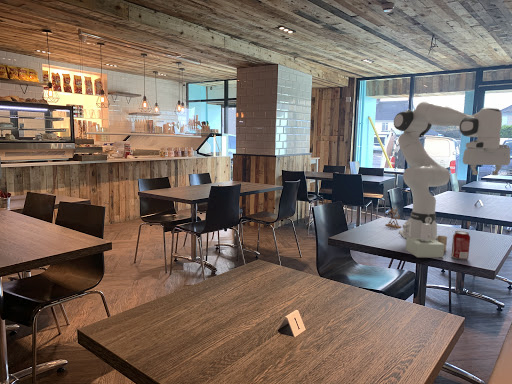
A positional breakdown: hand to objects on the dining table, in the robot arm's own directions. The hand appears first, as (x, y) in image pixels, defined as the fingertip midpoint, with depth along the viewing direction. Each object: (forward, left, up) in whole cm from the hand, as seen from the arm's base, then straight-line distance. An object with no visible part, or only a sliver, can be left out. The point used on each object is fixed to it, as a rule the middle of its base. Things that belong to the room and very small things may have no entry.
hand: (485, 175), depth 178 cm
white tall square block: (-1, -25, -37) cm, 45 cm away
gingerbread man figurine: (-58, -16, -38) cm, 71 cm away
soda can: (+6, -12, -37) cm, 40 cm away
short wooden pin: (-6, -14, -37) cm, 40 cm away
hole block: (-1, -25, -37) cm, 45 cm away
